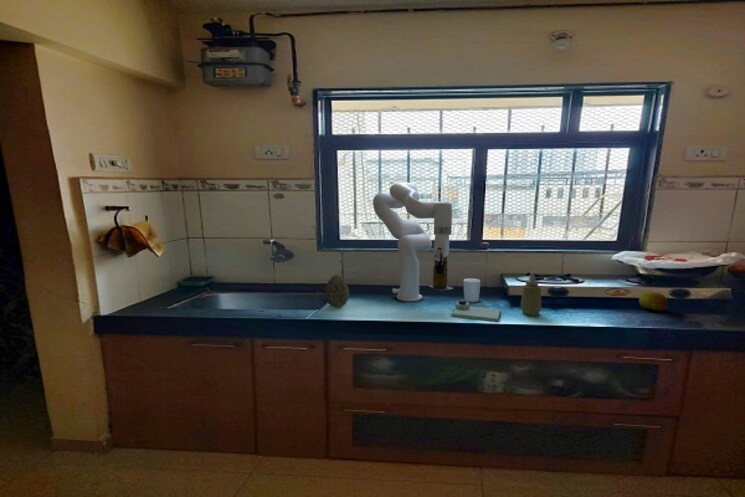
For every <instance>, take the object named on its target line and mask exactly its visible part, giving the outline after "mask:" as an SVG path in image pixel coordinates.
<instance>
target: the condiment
mask: <svg viewBox="0 0 745 497" xmlns="http://www.w3.org/2000/svg"><path fill="white" fill-rule="evenodd" d="M436 260H437V259H435V260H434V264H433V269H432V270H433V271H432V272H433V273H432V285H429V287H430V288H432V289H435V290H439V291H447V290H452V289H454V288H453V287H451V286H448V260H447V261H446V260H444V261H443V265H444V273H443V274H438V273H436ZM441 261H442V260H441Z"/></svg>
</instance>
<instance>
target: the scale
mask: <svg viewBox="0 0 745 497" xmlns="http://www.w3.org/2000/svg"><path fill="white" fill-rule="evenodd" d="M470 305H471V304H470V302H467V301H466V305H460V304H459V301H456V302H455V306H454V307H455V309H454V310H453V312H452V314H451V316H452V317H457V318H465V319H473V320H481V321H489V322H499V319H500V315H501V309H500V308H499V309H498V308H490V307H482V306H481V307H480V306H470Z"/></svg>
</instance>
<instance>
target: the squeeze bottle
mask: <svg viewBox="0 0 745 497" xmlns="http://www.w3.org/2000/svg"><path fill="white" fill-rule="evenodd" d="M541 290H542V289H541V286H540V285H539V280H537V279H536V275H535V272H534V271H530V274H529V277H528V279H526V280H525V284H524V285H523V288H522V292H521V293H522V294H521V300H520V307H521V311H522V314H523V315H526V316H534V317H535V316H538V315H539V314H540V311H541V309H542V307H543V306H542V291H541Z"/></svg>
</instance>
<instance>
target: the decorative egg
mask: <svg viewBox="0 0 745 497" xmlns="http://www.w3.org/2000/svg"><path fill="white" fill-rule="evenodd" d="M324 295H325V301H326V302H327V303H328V305H330V306H331V307H333V308H336V309H338V308H342V307H343V306H345V305H346V304H347V302H348V300H349V298H350V290H349V286H348V284H347V282H346V280H345V279H344V278H343V277H342V276H341V275H339V274H335V275H332V277H330V279H329V280H328V282H327V283H326V286H325V291H324Z"/></svg>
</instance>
